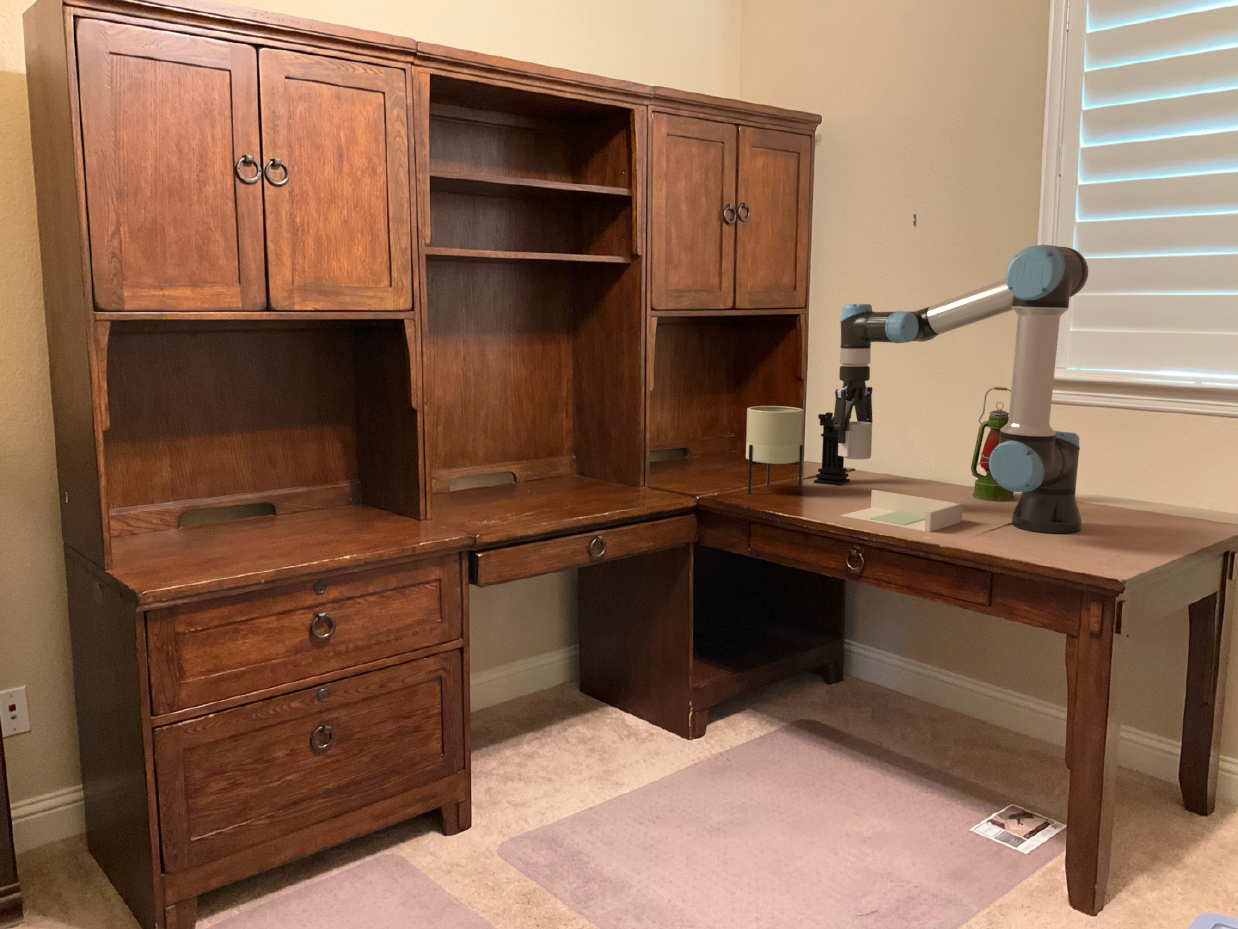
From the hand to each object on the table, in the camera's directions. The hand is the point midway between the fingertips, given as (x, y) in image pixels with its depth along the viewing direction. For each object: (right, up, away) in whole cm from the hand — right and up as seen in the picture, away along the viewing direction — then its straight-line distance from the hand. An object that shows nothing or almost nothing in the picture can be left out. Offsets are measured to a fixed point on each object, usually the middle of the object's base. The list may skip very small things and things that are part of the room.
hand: (852, 454), depth 263 cm
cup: (0, -1, 0) cm, 1 cm away
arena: (+8, -16, -16) cm, 24 cm away
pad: (+8, -16, -16) cm, 24 cm away
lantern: (+41, -12, +14) cm, 45 cm away
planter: (-17, -10, +21) cm, 29 cm away
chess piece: (+2, -8, +35) cm, 36 cm away
